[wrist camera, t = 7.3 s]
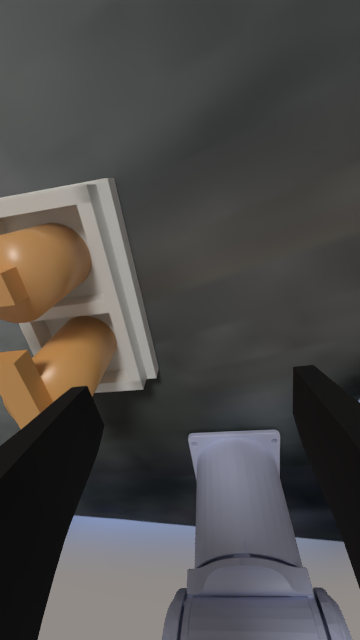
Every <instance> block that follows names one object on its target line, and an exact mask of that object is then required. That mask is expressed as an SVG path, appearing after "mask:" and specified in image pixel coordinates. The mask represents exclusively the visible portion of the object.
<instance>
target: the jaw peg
mask: <svg viewBox="0 0 360 640" xmlns="http://www.w3.org/2000/svg"><path fill="white" fill-rule="evenodd" d="M116 347H117V341H116V337H115V334H114V333H113V331H112V330H111V328H110V327H109V326H108V325H107V324H106V323H104V322H103V321H101V320H100V319H97V318H95V317H92V316H76V317H73V318H71V319H70V320H68V321H67V322H66V323H65V324H64V325H63V326H62V327H61V328H60V330H59V331H58V332H57V333H56V334H55V335H54V336H53V337H52V338H51V339H50V340H49V341H48V342H47V343H46V344H45V345H44V346H43V347H42V348H41V349H40V350H39V351H38V352H37V354H36V355H35V356H34V357H33V358H31V356H30V354H29V352H28V350H20V351H10V352H0V395H1V396H2V398H3V402H4V405H5V407H6V409H7V411H8V412H9V414H10V415H11V416H12V417H13V418H14V419H15V420H16V422H17V423H18V425H19V427H20V429H22V428H23V427H25V426H26V425H27V424H28V423H29V422H30V421H32V420H33V419H34V418H35V417H36V416H38V415H39V414H40V413H41V412H42V411H43V410H45V409H46V408H47V407H48V406H49V405H50V404H52V403H53V402H54V401H55V400H56V399H58V398H59V397H60V396H61V395H62V394H64V393H65V392H66V391H68V390H69V389H70V388H72V387H79V386H88V388H89V391H90V393H91V395H92V397H93V395H94V393H95V391H96V389H97V387H98V385H99V383H100V381H101V379H102V377H103V375H104V373H105V371H106V369H107V367H108V365H109V363H110V361H111V359H112V357H113V355H114V353H115V351H116Z"/></svg>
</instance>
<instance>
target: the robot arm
mask: <svg viewBox="0 0 360 640" xmlns="http://www.w3.org/2000/svg"><path fill="white" fill-rule="evenodd" d="M293 415H294V419H295V422H296V425H297V429H298V432H299V435H300V438H301V441H302V444H303V447H304V449H305V451H306V454H307V456H308V458H309V461H310V463H311V465H312V468H313V470H314V472H315V475H316V477H317V479H318V481H319V484H320V486H321V488H322V491H323V493H324V495H325V498H326V500H327V502H328V504H329V507H330V509H331V511H332V514H333V516H334V518H335V521H336V523H337V526H338V528H339V531H340V533H341V536H342V538H343V541H344V543H345V547H346V550H347V553H348V555H349V559H350V561H351V564H352V567H353V570H354V573H355V576H356V579H357V582H358V585H359V588H360V403H359V402H358V401H357V400H356V399H354V398H353V397H352V396H351V395H349V394H348V393H347V392H346V391H344V390H343V389H342V388H341V387H339V386H338V385H337V384H336V383H335V382H333V381H332V380H331V379H330V378H328V377H327V376H326V375H325V374H324V373H322V372H321V371H320V370H319V369H318V368H316V367H315V366H314V365H309V366H298V367H293ZM103 429H104V424H103V421H102V419H101V417H100V414H99V412H98V410H97V407H96V405H95V403H94V400H93V398H92V395H91V393H90V391H89V388H88V386H79V387H72V388H70V389H69V390H68V391H66V392H65V393H64V394H62V395H61V396H60V397H59V398H58V399H56V400H55V401H54V402H53V403H52V404H50V405H49V406H48V407H47V408H46V409H45V410H43V411H42V412H41V413H40V414H39V415H38V416H36V417H35V418H34V419H33V420H32V421H30V422H29V423H28V424H27V425H26V426H25V427H23V428H22V429H21V430H20V431H19V432H17V433H16V434H15V435H14V436H12V437H11V438H10V439H9V440H7V441H6V442H5V443H4V444H2V445H1V446H0V640H37V639H38V635H39V631H40V627H41V623H42V619H43V615H44V611H45V607H46V604H47V600H48V597H49V593H50V589H51V586H52V582H53V578H54V574H55V571H56V568H57V564H58V561H59V558H60V554H61V551H62V548H63V544H64V541H65V538H66V535H67V532H68V529H69V526H70V523H71V521H72V518H73V516H74V513H75V510H76V508H77V505H78V503H79V500H80V498H81V495H82V493H83V490H84V487H85V485H86V482H87V480H88V477H89V475H90V472H91V469H92V467H93V464H94V461H95V459H96V456H97V453H98V449H99V446H100V442H101V438H102V433H103ZM188 442H189V447H190V452H191V457H192V462H193V466H194V471H195V476H196V481H197V493H196V538H195V569H189V570H188V574H187V575H188V576H187V588H181V589H179V590H178V591H177V593H176V595H175V597H174V599H173V601H172V602H171V604H170V606H169V608H168V611H167V614H166V618H165V623H164V629H163V636H162V640H352V638H351V635H350V632H349V630H348V627H347V624H346V622H345V619H344V617H343V615H342V612H341V610H340V608H339V606H338V604H337V603H336V602H335V601H334V600H333V599H332V598H331V597H330V596H329V595H328V594H327V592H326V591H325V590H324V589H323V588H313V589H312V585H311V582H310V578H309V574H308V571H307V568H305V567H303V566H302V562H301V559H300V555H299V551H298V547H297V543H296V539H295V535H294V532H293V528H292V524H291V520H290V516H289V512H288V508H287V504H286V501H285V497H284V493H283V489H282V485H281V481H280V434H279V432H278V431H277V430H252V431H229V432H206V433H191V434H189V436H188Z"/></svg>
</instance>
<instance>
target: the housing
mask: <svg viewBox="0 0 360 640" xmlns="http://www.w3.org/2000/svg"><path fill="white" fill-rule="evenodd" d="M76 316H92V317H95V318H97V319H100V320H101V321H103V322H104V323H106V324H107V325H108V326H109V327H110V328H111V330H112V331H113V333H114V334H115V337H116V341H117V347H116V351H115V353H114V355H113V357H112V359H111V361H110V363H109V365H108V367H107V369H106V371H105V373H104V375H103V377H102V379H101V381H100V383H99V385H98V387H97V389H96V391H95V393H101V392H115V391H130V390H143V389H144V385H145V382H146V379H154V378H157V374H158V370H159V367H158V363H157V359H156V355H155V350H154V346H153V342H152V338H151V333H150V329H149V325H148V321H147V316H146V312H145V308H144V304H143V299H142V295H141V291H140V286H139V282H138V278H137V274H136V269H135V265H134V261H133V257H132V252H131V248H130V244H129V240H128V235H127V231H126V227H125V223H124V218H123V214H122V210H121V206H120V201H119V197H118V193H117V189H116V184H115V180H114V178H105V179H99V180H94V181H89V182H83V183H78V184H72V185H67V186H62V187H56V188H51V189H46V190H40V191H35V192H29V193H24V194H19V195H13V196H8V197H3V198H0V319H2V320H5V321H8V322H13V323H19V325H20V328H21V330H22V332H23V334H24V336H25V338H26V340H27V342H28V344H29V346H30V349H31V351H32V353H33V355H34V356H35V355H36V354H37V352H38V351H39V350H40V349H41V348H42V347H43V346H44V345H45V344H46V343H47V342H48V341H49V340H50V339H51V338H52V337H53V336H54V335H55V334H56V333H57V332H58V331H59V330H60V328H61V327H62V326H63V325H64V324H65V323H66V322H67V321H68V320H70V319H71V318H73V317H76Z"/></svg>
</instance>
